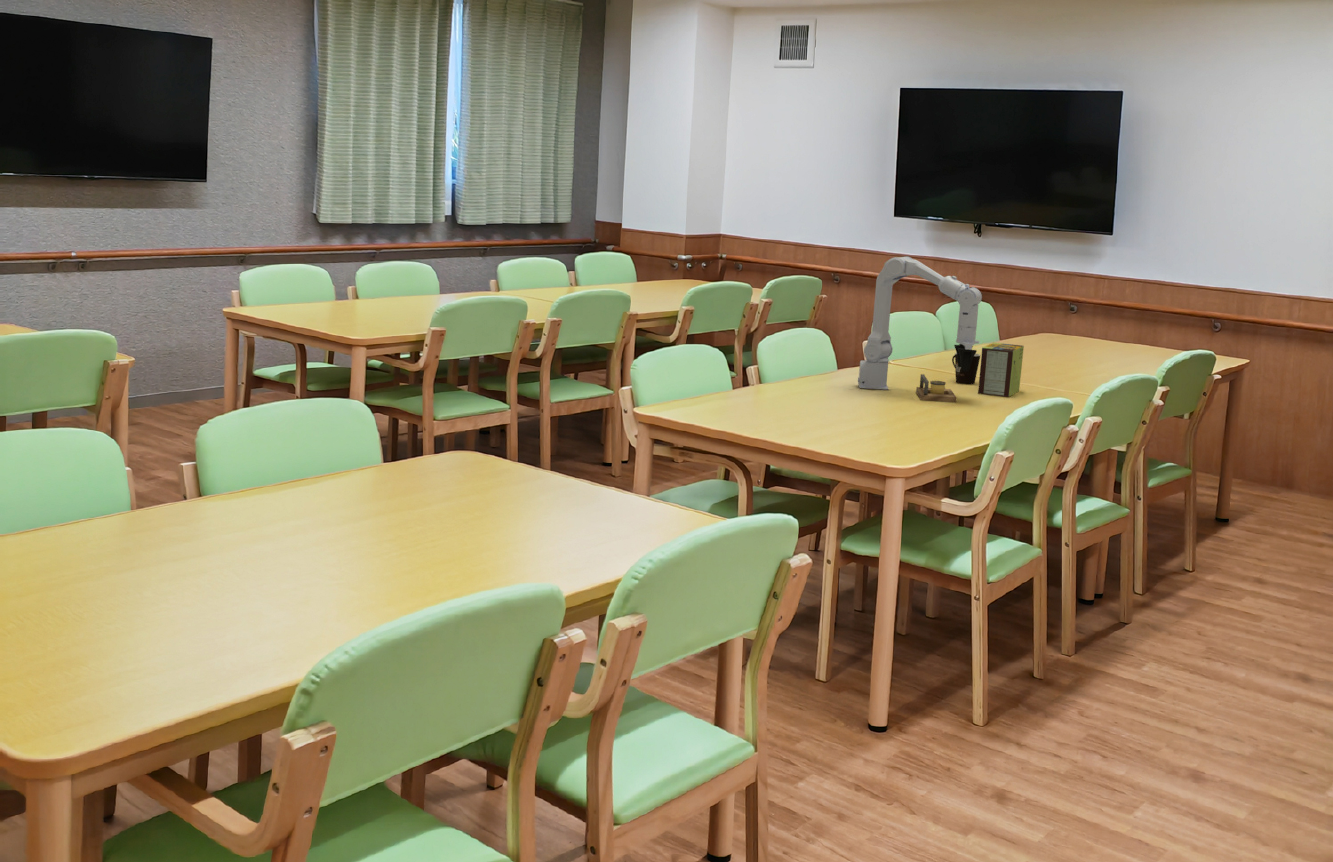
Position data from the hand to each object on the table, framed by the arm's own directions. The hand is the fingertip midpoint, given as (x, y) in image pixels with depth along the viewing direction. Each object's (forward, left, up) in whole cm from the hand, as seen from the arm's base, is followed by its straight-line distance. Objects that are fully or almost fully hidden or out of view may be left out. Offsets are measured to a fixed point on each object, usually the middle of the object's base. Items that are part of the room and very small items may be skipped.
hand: (963, 369), depth 383 cm
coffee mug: (+6, +36, -10) cm, 38 cm away
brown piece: (-8, +3, -10) cm, 13 cm away
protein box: (+15, +19, -10) cm, 26 cm away
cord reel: (-7, +2, -10) cm, 13 cm away
